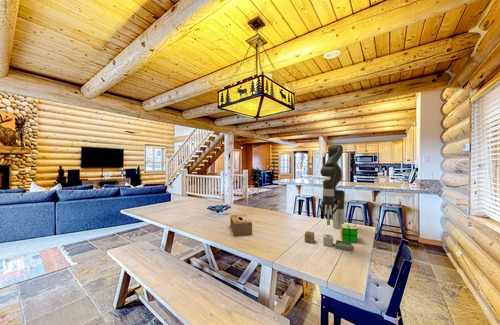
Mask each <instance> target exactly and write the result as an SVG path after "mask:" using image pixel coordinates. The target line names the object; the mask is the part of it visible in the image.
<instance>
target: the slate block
mask: <svg viewBox="0 0 500 325" xmlns="http://www.w3.org/2000/svg"><path fill="white" fill-rule="evenodd" d="M322 245H323V246H327V247H331V248H333V247H334V246H333V245H334V235H333V234H328V233H324V234H323V244H322Z"/></svg>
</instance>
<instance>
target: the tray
mask: <svg viewBox="0 0 500 325" xmlns="http://www.w3.org/2000/svg"><path fill="white" fill-rule="evenodd" d="M352 243H353V242H346V241H342V240H341V239H340V240H338V239H335V246H334V247H335V248H334V249H338V250H343V251H349V252H352V251H353V246H352Z"/></svg>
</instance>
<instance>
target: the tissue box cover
mask: <svg viewBox="0 0 500 325" xmlns="http://www.w3.org/2000/svg"><path fill="white" fill-rule="evenodd" d="M229 223H230V228H231V231H232V233H233V236H234V237H238V236H249V235H250V236H251V235H253V222H252V220H251V219H250V218H249V216H248V215H247V214H246V213H243V214H230V222H229Z"/></svg>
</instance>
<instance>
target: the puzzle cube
mask: <svg viewBox="0 0 500 325" xmlns="http://www.w3.org/2000/svg"><path fill="white" fill-rule="evenodd" d="M339 230H340V232H339V233H340V238H341V239H340V240H341V241H346V242H352V243H356V244H357V243H358V228H357V227H356V225H354V224H345V223H344V224H341V227H340V229H339Z"/></svg>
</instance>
